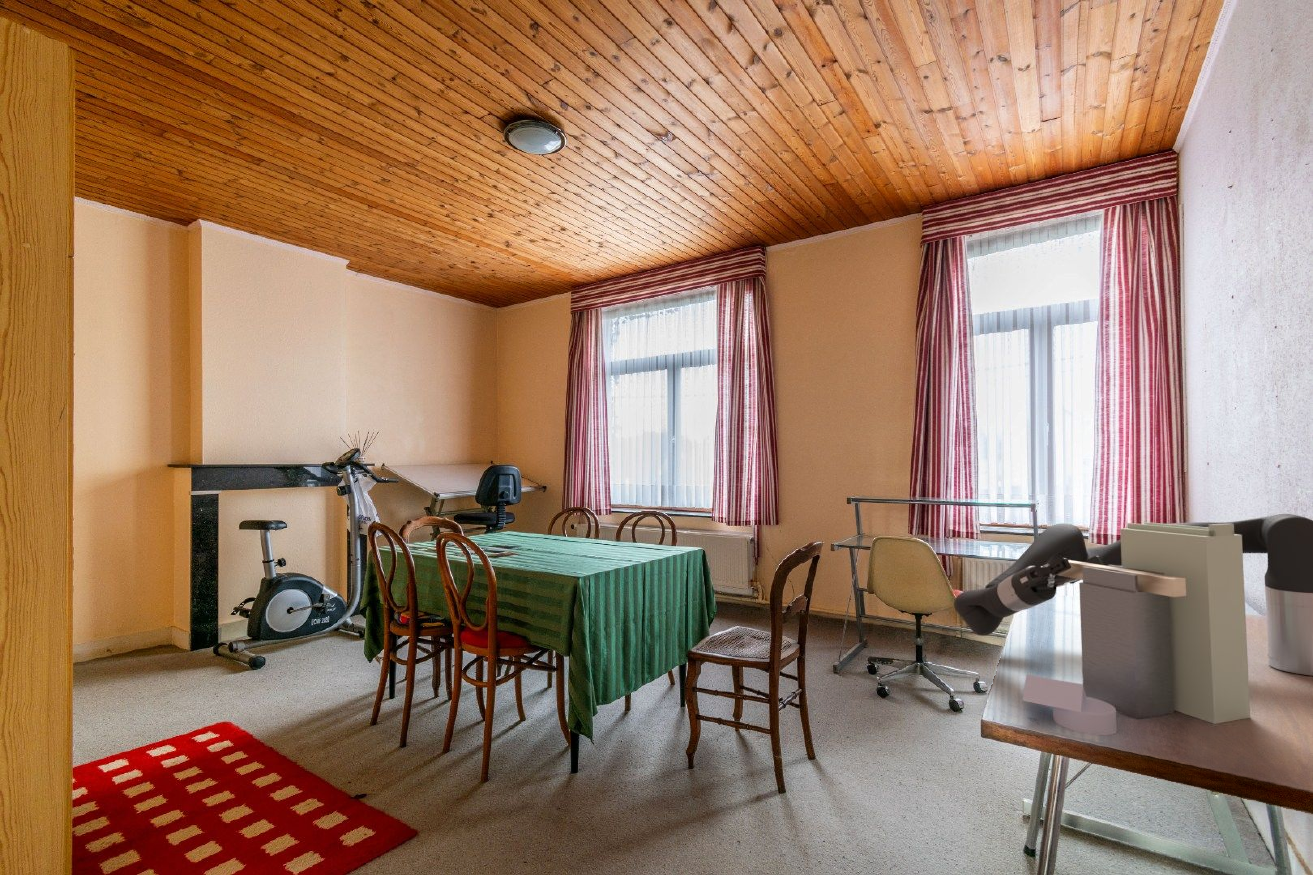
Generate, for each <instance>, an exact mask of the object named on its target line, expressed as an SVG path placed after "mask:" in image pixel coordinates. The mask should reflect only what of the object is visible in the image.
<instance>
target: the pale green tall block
mask: <svg viewBox="0 0 1313 875" xmlns="http://www.w3.org/2000/svg"><path fill="white" fill-rule="evenodd" d="M1126 526H1127V527H1126V528H1125V527H1124V528H1120V530H1119V531H1120V539H1121V557H1122V567H1129V568H1135V569H1141V570H1148V571H1154V572H1161V573H1164V575H1167V576H1174V577H1180V578H1185V581H1186V596H1180V597H1170V596H1169V607H1170V631H1171V654H1172V678H1173V702H1174V711H1176V712H1179V713H1182V714H1184V715H1187V716H1191V717H1193V718H1196V719H1198V720H1202V721H1205V722H1207V723H1211V724H1213V725H1216V724H1221V723H1222V724H1223V723H1227V722H1233V721H1238V720H1245V719H1248V718H1249V719H1250V718H1251V704H1250V703H1251V702H1250V685H1249V684H1250V682H1249V661H1248V658H1249V657H1248V642H1247V641H1248V638H1247V636H1248V635H1247V619H1246V617H1247V616H1246V614H1247V613H1246V597H1245V579H1244V578H1245V575H1244V557H1243V555H1244V553H1243V551H1242V535H1237V534H1234V524H1212V525H1209V527H1197V526H1185V525H1173V524H1171V523H1159V522H1147V521H1146V522H1145V521H1144V523H1134V522H1133V523H1132V522H1131V523H1130V522H1127V525H1126Z"/></svg>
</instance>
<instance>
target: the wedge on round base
mask: <svg viewBox="0 0 1313 875" xmlns="http://www.w3.org/2000/svg"><path fill="white" fill-rule="evenodd" d="M1023 690H1024V691H1023V697H1022V701H1023V702H1028V703H1034V704H1039V705H1041V706H1042V705H1043V706H1048V707H1052V711H1053V721H1054V722H1055V723H1056V724H1058V725H1059V726H1061V727H1062V728H1063V727H1064V728H1066V729H1068V730H1071V731H1075V732H1078V733H1082V734H1086V735H1096V736H1097V735H1098V736H1109V735H1112V734H1115V733H1117V730H1118V729H1117V711H1116V709H1115V707H1113V706H1112V705H1110V704H1109V703H1106V702H1104V701H1101V700H1098V699H1095V698H1090V697H1086V694H1085V690H1084V687H1083V683H1076V682H1071V681H1064V680H1060V679H1059V680H1058V679H1056V678H1055V679H1053V678H1049V677H1048V678H1047V677H1043V676H1037V675H1032V674H1026V676H1025V684H1024V689H1023Z"/></svg>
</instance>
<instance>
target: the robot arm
mask: <svg viewBox="0 0 1313 875" xmlns="http://www.w3.org/2000/svg"><path fill="white" fill-rule="evenodd" d="M1170 524H1173V525H1185V526H1197V527H1209V525H1212V524H1234V534H1237V535H1242V551H1243V554H1267V569H1266V572H1265V574H1264V595H1265V608H1266V609H1265V613H1266V615H1265V616H1266V635H1267V656H1268V665H1269V666H1270V667H1272V668H1274V669H1276V670H1279V671H1283V672H1288V673H1293V674H1298V675H1306V676H1313V520H1312V518H1311V519H1310V518H1307V517H1305V516H1301V515H1298V514H1297V515H1296V514H1292V513H1291V514H1290V513H1279V514H1273V515H1268V516H1261V517H1257V518H1251V519H1242V520H1237V521H1236V520H1235V521H1226V522H1225V521H1224V522H1223V521H1222V522H1215V521H1214V522H1213V521H1212V522H1211V521H1210V522H1209V521H1208V522H1174V523H1173V522H1171V523H1170ZM1086 546H1087V545H1086V541H1085V537H1084V534H1083V532H1082V530H1081V529H1080V527H1078V526H1076V525H1073V524H1071V523H1057V524H1052V525H1050V526H1049V527H1047V528H1045V529H1044V530H1043V531H1042V532H1041V533H1040V534H1039V535H1038V536H1037V537H1036V538H1035V540H1034V541H1033V542H1032V543H1031V544H1030V546H1028V548H1027V549H1026V550H1025V551H1024V552H1023V553H1022V554H1021V555H1020V557H1018V559H1017V560H1015V561H1014V563H1012V565H1011V566H1009V567H1008V568H1007V569H1005V571H1003V572H1002V573H1001V574H999V575H998V576H997V577H995V578H993V579H992V580H991V581H990V582H989V583H988V584H987V585H985V587H984V588H979V589H970V590H966V591H963V592H961V593H960V594H958V595H957V596H956V597H955V599H954V602H953V608H954V610H955V611H956V612H957V614H958V615H959V616H960V618H962V620H963V621H964V622H965V624H966V625H967V626H968V628H970V630H971V631H972V632H973V633H974V634H975V635H977V636H982V637H983V636H984V637H985V636H989V635H991V634H993V633H994V632H995V631H996V630H997V629H998V628H999V626H1000V625H1001V623H1002V622H1003V619H1004V618H1007V617H1009V616H1012V615H1014V614H1017V613H1019V612H1022V611H1025V610H1028V609H1031V608H1033V607H1036V606H1038V605H1040V604H1041V605H1042V603H1046V602H1048V601H1051V600H1052V599H1053V598H1054V597H1055V596H1056V593H1057V588H1060V587H1063V586H1065V585H1067V584H1070V585H1071V584H1072V585H1073V584H1076V583H1077V582H1080V581H1081V580H1080V579H1074V578H1069V577H1064V576H1058V574H1060V573H1062V572H1064V571H1066V570H1068V569H1070V568H1071V565H1070V563H1069V561H1068V560H1072V561H1079V562H1085V563H1091V564H1098V565H1104V566H1108V565H1116V566H1122V557H1121V538H1120V539H1118V540H1116V541H1114V542H1112V543H1109V544H1106V545H1101V546H1100V545H1099V546H1095V547H1092V546H1091V547H1086Z"/></svg>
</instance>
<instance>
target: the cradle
mask: <svg viewBox="0 0 1313 875" xmlns="http://www.w3.org/2000/svg"><path fill="white" fill-rule="evenodd" d="M1108 566H1110V567H1117V568H1123V569H1129V570H1136V571H1142V572H1148V573H1155V574H1161V575H1164V573H1161V572H1154V571H1148V570H1141V569H1135V568H1129V567H1122V566H1116V565H1108ZM1082 572H1083V580H1082V581H1081V582H1079V584H1078V585H1079V607H1080V608H1079V611H1080V615H1079V616H1080V638H1081V639H1080V640H1081V666H1082V667H1081V668H1082V684H1083V687H1084V690H1085V694H1086V697H1090V698H1095V699H1098V700H1101V701H1104V702H1106V703H1109V704H1110V705H1112V706H1113V707H1115V709H1116V713H1120V714H1122V715H1125V716H1128V717H1130V718H1132V719H1136V720H1140V719H1145V718H1152V717H1158V716H1163V715H1164V716H1165V715H1170V714H1175V710H1174V702H1173V678H1172V654H1171V631H1170V607H1169V596H1165V595H1160V594H1154V593H1149V592H1144V591H1138V577H1137V575H1133V574H1127V573H1121V572H1115V571H1109V570H1103V569H1097V568H1091V567H1082Z"/></svg>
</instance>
